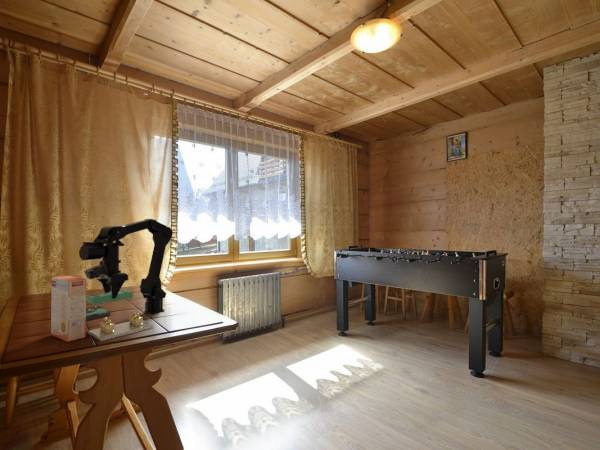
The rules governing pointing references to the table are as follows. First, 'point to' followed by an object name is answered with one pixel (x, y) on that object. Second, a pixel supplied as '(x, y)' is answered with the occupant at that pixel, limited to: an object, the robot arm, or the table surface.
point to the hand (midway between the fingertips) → (110, 297)
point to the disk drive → (96, 312)
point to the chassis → (120, 327)
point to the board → (108, 297)
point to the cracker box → (68, 308)
